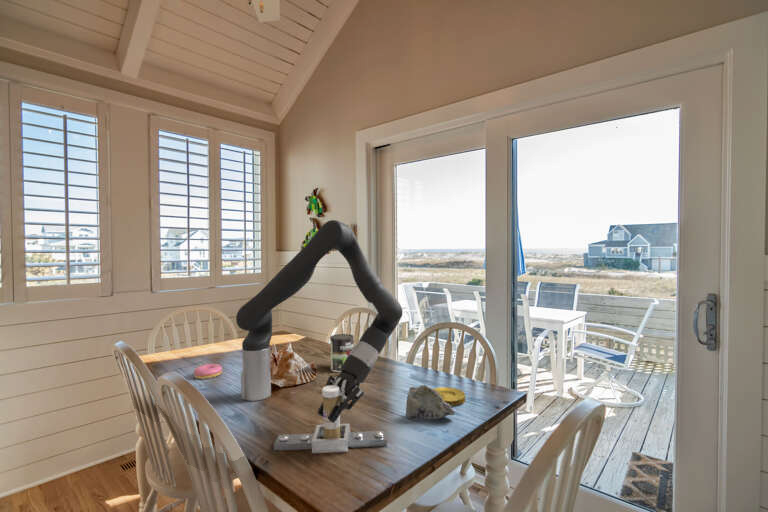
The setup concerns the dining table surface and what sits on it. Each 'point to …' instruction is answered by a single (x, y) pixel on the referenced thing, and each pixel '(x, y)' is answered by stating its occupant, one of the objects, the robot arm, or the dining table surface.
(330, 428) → the sprinkles bottle
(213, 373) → the doughnut
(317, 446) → the link socket
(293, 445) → the left link bar
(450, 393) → the gold slotted disc
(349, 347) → the coffee can
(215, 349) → the dining table surface
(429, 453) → the dining table surface
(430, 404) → the mineral rock
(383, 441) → the right link bar
